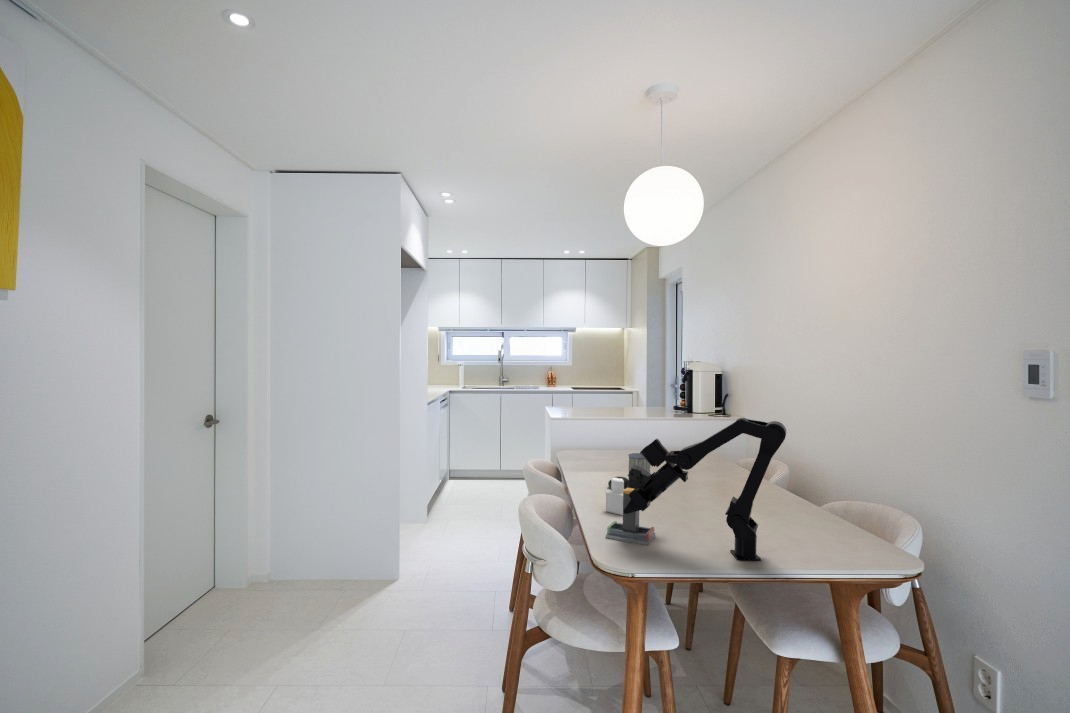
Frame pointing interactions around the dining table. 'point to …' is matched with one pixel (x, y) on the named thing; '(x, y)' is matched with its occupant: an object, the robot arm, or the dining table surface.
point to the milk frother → (641, 462)
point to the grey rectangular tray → (630, 534)
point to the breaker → (630, 514)
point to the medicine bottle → (616, 495)
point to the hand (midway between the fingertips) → (626, 510)
